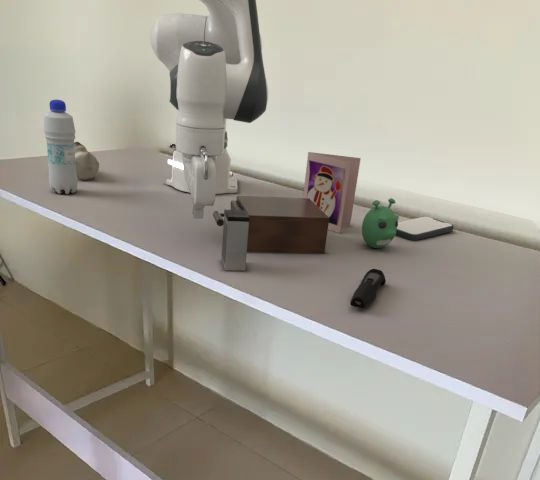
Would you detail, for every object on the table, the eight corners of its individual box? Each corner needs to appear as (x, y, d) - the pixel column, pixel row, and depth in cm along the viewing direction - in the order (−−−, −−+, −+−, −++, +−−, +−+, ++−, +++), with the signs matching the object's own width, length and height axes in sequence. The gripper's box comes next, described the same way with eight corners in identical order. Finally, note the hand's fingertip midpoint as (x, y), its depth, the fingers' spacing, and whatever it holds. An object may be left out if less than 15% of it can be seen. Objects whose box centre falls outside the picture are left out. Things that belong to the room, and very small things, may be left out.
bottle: (70, 196, 137) (64, 102, 128) (43, 192, 138) (34, 98, 129) (84, 190, 143) (79, 100, 134) (58, 187, 144) (51, 96, 135)
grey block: (224, 270, 105) (227, 216, 100) (221, 261, 108) (223, 209, 104) (245, 270, 105) (249, 217, 101) (241, 262, 109) (245, 210, 105)
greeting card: (297, 220, 137) (305, 152, 130) (318, 215, 142) (326, 150, 135) (337, 233, 131) (348, 162, 124) (357, 228, 136) (368, 160, 129)
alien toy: (376, 255, 120) (385, 205, 115) (351, 243, 125) (359, 195, 120) (402, 252, 123) (411, 203, 118) (377, 240, 129) (385, 193, 124)
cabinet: (246, 252, 114) (248, 215, 111) (234, 229, 127) (236, 195, 123) (324, 253, 118) (329, 217, 114) (305, 231, 130) (309, 198, 127)
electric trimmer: (342, 312, 94) (345, 293, 92) (365, 280, 107) (368, 263, 105) (366, 317, 93) (369, 298, 91) (385, 284, 106) (389, 267, 104)
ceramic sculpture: (66, 145, 144) (44, 138, 154) (69, 182, 148) (47, 173, 158) (108, 144, 150) (84, 137, 160) (110, 180, 154) (86, 171, 164)
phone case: (413, 242, 131) (455, 232, 140) (414, 235, 130) (456, 225, 140) (381, 231, 136) (424, 222, 146) (383, 224, 136) (425, 215, 145)
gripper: (225, 154, 102) (221, 233, 109) (210, 133, 119) (207, 203, 126) (188, 152, 101) (186, 232, 107) (178, 131, 118) (177, 202, 124)
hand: (197, 216), depth 117 cm, fingers closed
